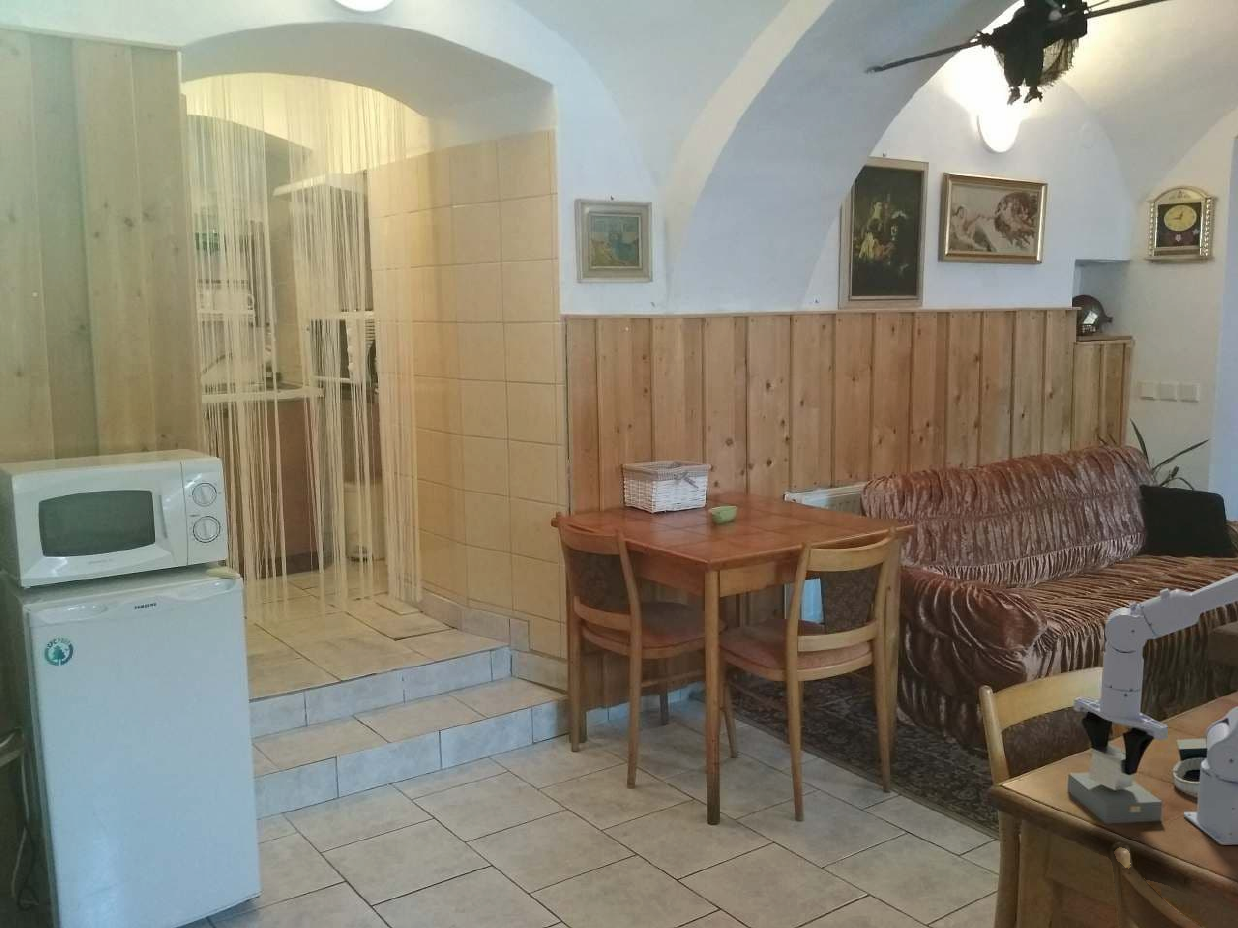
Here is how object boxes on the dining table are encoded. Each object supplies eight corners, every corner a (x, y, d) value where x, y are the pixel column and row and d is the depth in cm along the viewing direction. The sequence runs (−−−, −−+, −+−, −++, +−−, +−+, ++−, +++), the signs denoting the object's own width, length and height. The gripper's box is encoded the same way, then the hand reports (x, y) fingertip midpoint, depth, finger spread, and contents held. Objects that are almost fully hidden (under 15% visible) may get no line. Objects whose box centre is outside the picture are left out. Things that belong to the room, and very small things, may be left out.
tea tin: (1133, 785, 164) (1138, 755, 163) (1115, 790, 161) (1120, 760, 161) (1105, 773, 168) (1109, 744, 167) (1087, 778, 165) (1091, 748, 165)
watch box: (1161, 823, 160) (1163, 802, 160) (1106, 826, 159) (1108, 805, 159) (1118, 790, 171) (1120, 770, 171) (1067, 793, 170) (1068, 773, 170)
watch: (1222, 766, 176) (1234, 803, 167) (1170, 768, 180) (1178, 804, 170) (1218, 737, 175) (1229, 772, 166) (1165, 739, 179) (1172, 774, 169)
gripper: (1181, 694, 159) (1174, 778, 161) (1094, 667, 171) (1089, 745, 173) (1155, 703, 155) (1148, 789, 157) (1068, 675, 167) (1062, 755, 169)
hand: (1115, 767), depth 164 cm, fingers closed on tea tin, 4 cm apart
